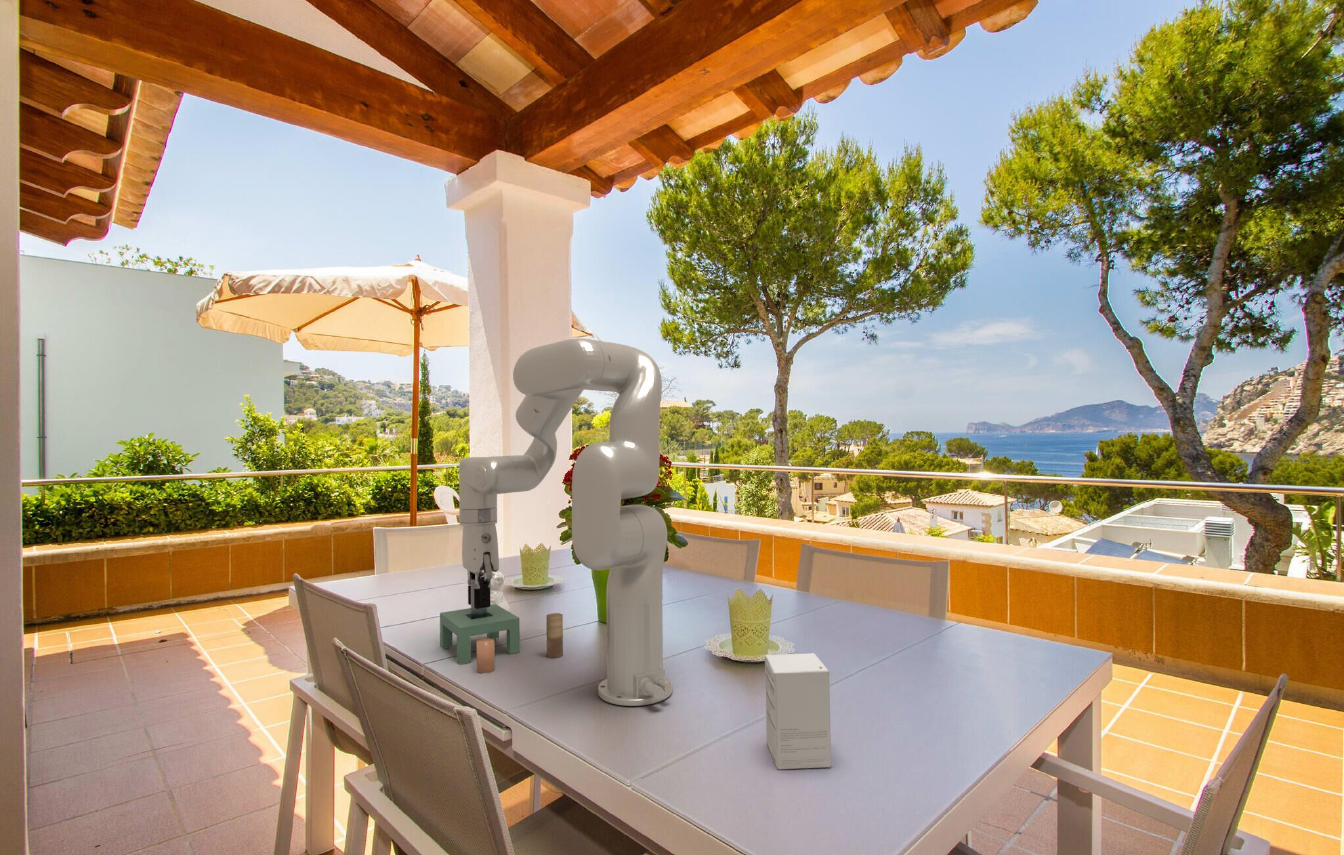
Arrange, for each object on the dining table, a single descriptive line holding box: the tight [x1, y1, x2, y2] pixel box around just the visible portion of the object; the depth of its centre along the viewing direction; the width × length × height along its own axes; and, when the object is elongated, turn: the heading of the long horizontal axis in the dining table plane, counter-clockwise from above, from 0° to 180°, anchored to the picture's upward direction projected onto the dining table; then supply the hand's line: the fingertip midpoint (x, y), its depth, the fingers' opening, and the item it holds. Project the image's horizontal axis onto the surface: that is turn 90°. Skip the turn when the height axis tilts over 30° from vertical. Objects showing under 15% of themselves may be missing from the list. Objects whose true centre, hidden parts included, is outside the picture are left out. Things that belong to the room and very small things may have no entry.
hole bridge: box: [439, 604, 521, 666], centre depth 135 cm, size 14×12×7 cm
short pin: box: [476, 637, 496, 674], centre depth 123 cm, size 3×3×6 cm
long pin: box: [470, 578, 487, 620], centre depth 135 cm, size 3×3×11 cm
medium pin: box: [545, 612, 564, 659], centre depth 131 cm, size 3×3×8 cm
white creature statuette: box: [490, 570, 511, 613], centre depth 158 cm, size 10×9×12 cm
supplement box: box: [764, 652, 832, 770], centre depth 88 cm, size 7×7×13 cm
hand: (479, 604), depth 135 cm, fingers closed on long pin, 3 cm apart
